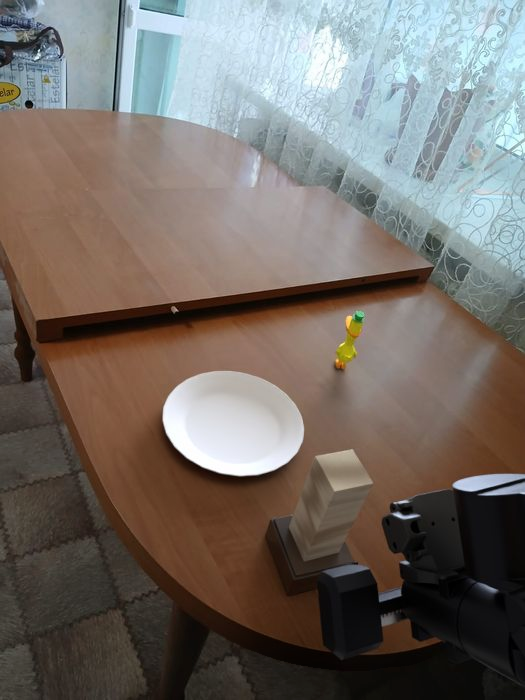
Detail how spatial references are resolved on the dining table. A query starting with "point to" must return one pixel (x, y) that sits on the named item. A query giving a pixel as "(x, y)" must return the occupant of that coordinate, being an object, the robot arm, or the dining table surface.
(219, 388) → the plate
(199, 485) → the dining table surface
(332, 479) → the block
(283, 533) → the stand
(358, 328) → the toy figure
